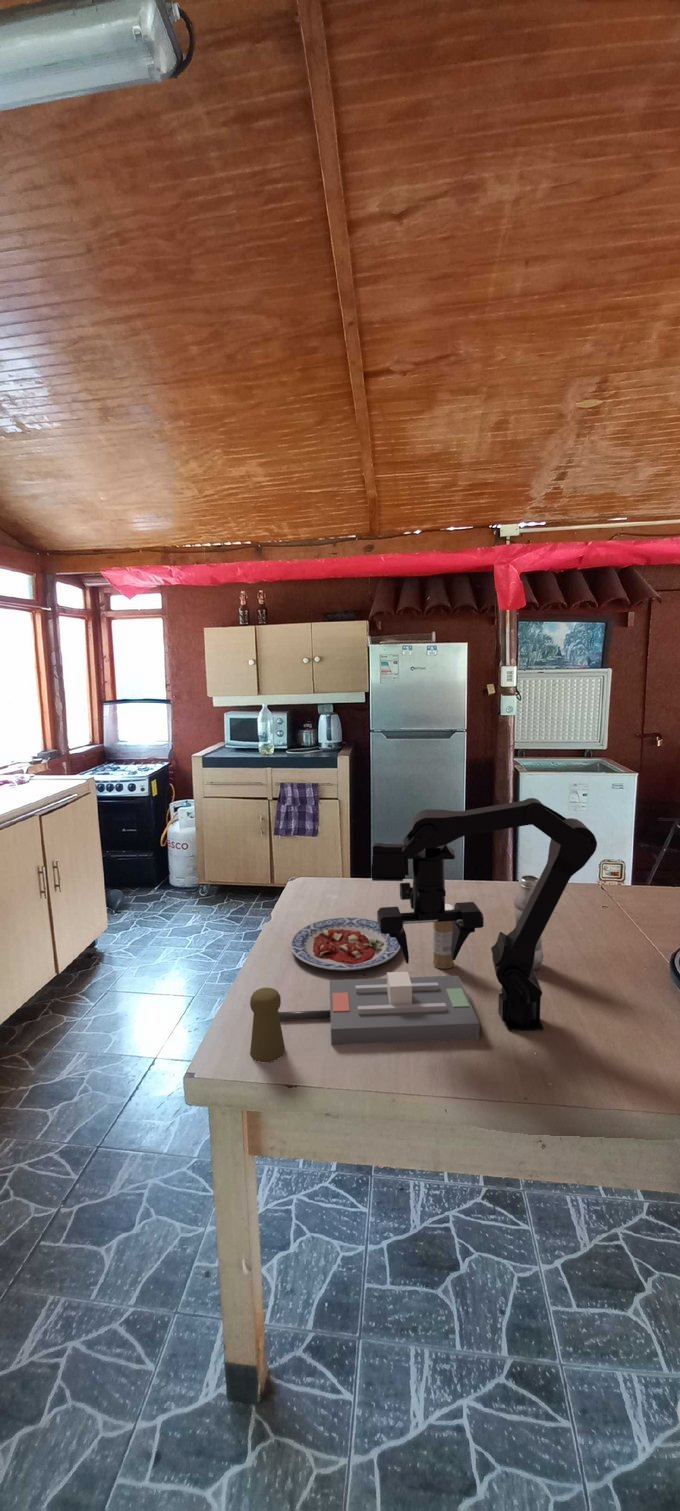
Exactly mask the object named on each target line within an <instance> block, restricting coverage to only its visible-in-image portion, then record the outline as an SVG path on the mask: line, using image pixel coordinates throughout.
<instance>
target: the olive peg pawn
mask: <svg viewBox="0 0 680 1511" xmlns="http://www.w3.org/2000/svg"><path fill="white" fill-rule="evenodd" d="M281 1004H282V1000H281V995H280V993H279V991H278V990H277V989H275V988H273V987H262V988H259V989H256V990H255V991H253V993H252V995H251V996H250V1000H249V1007H250V1010H251V1011H252V1013H253V1016H252V1019H253V1020H252V1028H251V1040H250V1051H249V1055H250V1058H251V1057H252V1058H253V1059H252V1058H251V1059H252V1060H254V1061H255V1060H256V1061H255V1062H257V1061H260V1062H259V1063H261V1062H269V1063H272V1062H271V1061H273V1062H275V1061H274V1060H276V1061H278V1060H279V1059H278V1058H280V1057H281V1056H282V1057H283V1056H284V1055H283V1054H285V1053H286V1046H285V1040H284V1035H283V1031H282V1030H283V1029H282V1025H281V1020H280V1018H279V1013H278V1012H279V1010H280V1008H281ZM284 1052H285V1053H284ZM282 1057H281V1058H282ZM281 1058H280V1059H281ZM277 1059H278V1060H277Z"/></svg>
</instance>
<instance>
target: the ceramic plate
mask: <svg viewBox="0 0 680 1511" xmlns="http://www.w3.org/2000/svg"><path fill="white" fill-rule="evenodd" d="M361 933H363V934H361ZM365 934H366V935H368V936H369V937H366V936H365ZM370 937H372V938H370ZM289 943H290V946H289V947H290V950H291V952H292V953H293V955H294V956H295V957H296V958H297V959H298V960H300V961H301V962H304V963H305V964H308V965H310V966H312V967H314V968H315V967H316V968H320V969H324V970H330V971H331V970H332V971H356V970H363V969H369V968H373V967H376V966H379V965H381V964H382V965H383V963H384V964H385V963H386V962H388V961H390V960H391V959H392V958H394V957H395V956H396V955H397V954H398V953H399V951H400V949H401V947H400V945H399V943H398V942H397V940H396V938H391V937H390V936H389V934H383V933H381V932H380V928H379V925H378V921H375V920H373V919H368V918H362V917H361V918H359V917H334V918H328V919H327V918H326V919H322V920H319V921H315V922H311V923H310V924H308V925H305V926H304V927H301V928H300V929H299V930H297V931H296V932H295V933H294V934H293V935H292V937H291V939H290V942H289Z"/></svg>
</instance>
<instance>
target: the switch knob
mask: <svg viewBox="0 0 680 1511" xmlns="http://www.w3.org/2000/svg"><path fill="white" fill-rule="evenodd" d="M386 978H387V993H388V998H389V1003H390V1005H402V1004H412V984H411V981H410V974H409V972H408V971H395V972H394V971H393V972H392V971H391V972H386Z"/></svg>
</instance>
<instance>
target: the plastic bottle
mask: <svg viewBox="0 0 680 1511" xmlns="http://www.w3.org/2000/svg"><path fill="white" fill-rule="evenodd" d="M520 878H521V879H520V890H518V892H517V893H516V894H515V897H514V899H513V905H514V906H513V907H514V917H515V926H516V925H517V923H518V921H519V919H520V917H521V915H522V913H523V911H524V909H525V907H526V905H527V902H528V900H529V898H530V896H531V894H532V892H533V890H534V888H535V886H536V884H537V882H538V880H539V878H540V877H538V876H535V875H531V874H530V875H526V874H525V875H522V876H521V877H520ZM542 942H543V940H542V936H541V937H540V939H539V941H538V943H537V945H536V949H535V956H534V964H533V968H534V971H535V970H538V969H539V968H540V967H541V966H542V965H543V962H544V950H543V949H544V948H543V944H542Z"/></svg>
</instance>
